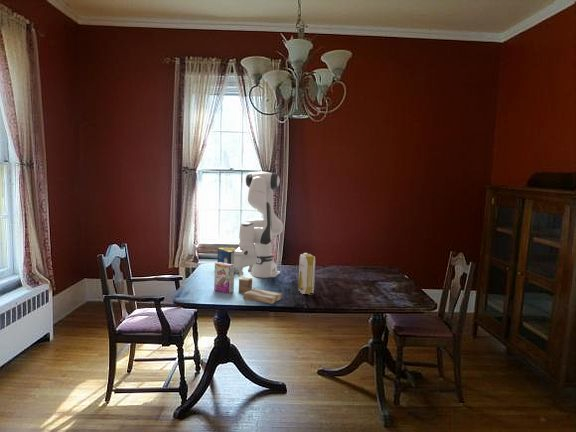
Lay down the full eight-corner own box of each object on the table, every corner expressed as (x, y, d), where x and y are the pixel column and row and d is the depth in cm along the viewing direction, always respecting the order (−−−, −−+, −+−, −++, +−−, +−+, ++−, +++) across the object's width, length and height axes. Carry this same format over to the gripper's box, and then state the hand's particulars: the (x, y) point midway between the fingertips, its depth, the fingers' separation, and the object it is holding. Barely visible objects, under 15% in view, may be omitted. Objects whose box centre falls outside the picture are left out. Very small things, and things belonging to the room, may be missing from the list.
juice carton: (296, 291, 256) (298, 251, 254) (308, 290, 259) (310, 251, 257) (302, 295, 248) (304, 254, 245) (315, 294, 251) (317, 254, 248)
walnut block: (243, 290, 254) (243, 276, 254) (252, 291, 252) (252, 278, 251) (238, 292, 250) (238, 278, 249) (247, 293, 247) (247, 280, 246)
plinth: (254, 293, 248) (254, 288, 248) (281, 298, 240) (281, 293, 240) (243, 298, 237) (243, 293, 237) (271, 304, 230) (271, 298, 229)
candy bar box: (213, 290, 251) (214, 263, 249) (219, 288, 255) (219, 261, 253) (228, 293, 245) (229, 265, 243) (234, 292, 250) (234, 264, 248)
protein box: (229, 267, 310) (230, 246, 308) (241, 272, 298) (241, 250, 297) (216, 269, 303) (217, 247, 302) (228, 274, 292) (228, 251, 290)
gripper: (251, 247, 259) (250, 269, 260) (232, 251, 240) (231, 276, 241) (260, 248, 256) (259, 271, 257) (241, 253, 238) (241, 277, 239)
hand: (245, 273), depth 249 cm, fingers open, 8 cm apart
